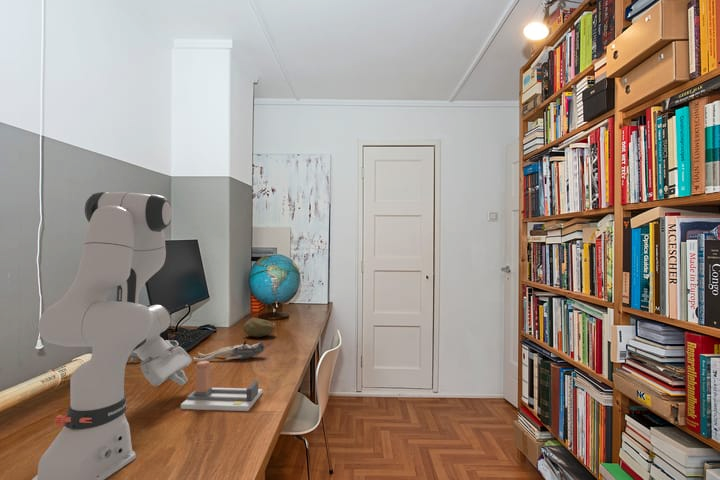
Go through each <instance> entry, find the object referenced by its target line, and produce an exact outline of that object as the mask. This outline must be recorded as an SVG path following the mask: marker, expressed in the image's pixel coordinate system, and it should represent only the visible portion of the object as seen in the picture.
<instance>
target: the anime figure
mask: <svg viewBox="0 0 720 480" xmlns="http://www.w3.org/2000/svg"><path fill="white" fill-rule="evenodd" d="M264 351H265V346H264V343H263V341H259V342H258V343H253V344H251V345H250V344H248V341H247V340H246V341H245V340H244V342H243V343H242V344H238V345H237V344H236V345H234V346H225V347H222V348H217V350H215V351H212V352H209V353H206V354H204V353H201V352H200V351H199V350H198V351H197V355H198V356H199V357H195V355H193V357H192V359H193V360H192V361H195V362H196V363H198V362H201V361H212V360H213V359H215V358H216V357H219V356H227V357H226V358H225V361H229V360H230V361H231V360H233V359H235V360H245V359H249V358H252V357H255V356H257V355H260V354H261V353H263V352H264ZM229 356H230V357H229Z"/></svg>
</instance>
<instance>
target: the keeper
mask: <svg viewBox="0 0 720 480" xmlns="http://www.w3.org/2000/svg"><path fill="white" fill-rule="evenodd" d="M194 369H195V371H194V372H195V373H194V374H195V377H194V378H195V379H194V380H195V382H194V383H195V384H194V386H195V389H194V391H195V392H194V396H209V395H210V394H211V393H212V388H213V387H212V384H211V383H212V381H211V380H212V379H211V377H212V374H211V373H212V370H211V369H212V365H211V364H210V360H204V361H199V362H196V367H195V368H194Z"/></svg>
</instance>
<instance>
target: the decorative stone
mask: <svg viewBox="0 0 720 480" xmlns="http://www.w3.org/2000/svg"><path fill="white" fill-rule="evenodd" d="M242 329H243V332H244V333H245V334H246V335H248V336H250V337H253V338H262V337H265V336H269V335H271V334H272V332H273V331H274V330H275V326H274V323H273V322H271V321H270V320H266V319H262V318H258V317H251V318H249V319H248V320H246V322H245V323H244V324H243V327H242Z"/></svg>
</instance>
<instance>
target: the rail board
mask: <svg viewBox="0 0 720 480" xmlns="http://www.w3.org/2000/svg"><path fill="white" fill-rule="evenodd" d="M211 388H212V393H211V394H210V395H209V396H194V392H195V390H193V391H192V392H191V393H190V394H188V395H187V396H186V400H184V401H183V402H182V403H180V410H202V411H203V410H205V411H231V412H232V411H237V412H239V411H240V412H241V411H242V412H249V411H250V410H251V408H252V407H253V406H254V404H255V403H256V401H258V400H259V398H260V397H261V395H262V394H263V388H259V381H256V380H255V381H252V383H250V385H249V386H248V387H246V388H245V387H243V388H240V387H239V388H238V387H237V388H236V387H211Z"/></svg>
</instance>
